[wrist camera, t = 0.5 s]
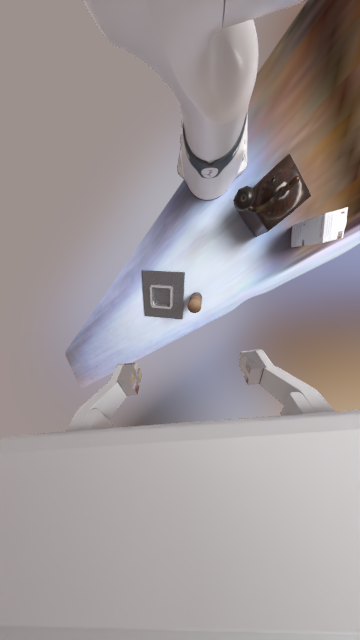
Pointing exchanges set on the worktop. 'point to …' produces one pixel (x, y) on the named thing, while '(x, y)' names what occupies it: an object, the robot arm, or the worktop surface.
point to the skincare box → (320, 229)
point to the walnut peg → (195, 303)
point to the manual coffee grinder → (272, 197)
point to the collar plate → (163, 293)
